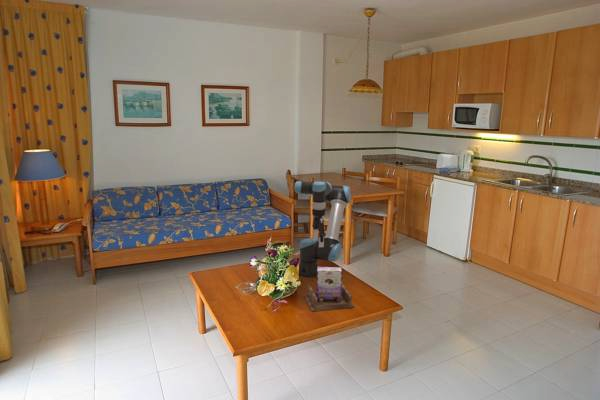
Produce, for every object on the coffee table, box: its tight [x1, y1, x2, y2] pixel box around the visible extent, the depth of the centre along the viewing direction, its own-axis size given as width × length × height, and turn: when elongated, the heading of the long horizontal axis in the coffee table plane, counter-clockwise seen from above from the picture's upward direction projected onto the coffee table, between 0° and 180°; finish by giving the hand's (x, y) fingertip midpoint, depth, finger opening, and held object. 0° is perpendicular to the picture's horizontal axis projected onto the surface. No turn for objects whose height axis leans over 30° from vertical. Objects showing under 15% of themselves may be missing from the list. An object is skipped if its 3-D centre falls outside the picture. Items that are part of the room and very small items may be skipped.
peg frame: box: [304, 282, 355, 312], centre depth 224 cm, size 18×24×7 cm
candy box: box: [316, 266, 343, 298], centre depth 223 cm, size 14×6×16 cm, turn 86°
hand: (318, 243), depth 237 cm, fingers open, 13 cm apart
